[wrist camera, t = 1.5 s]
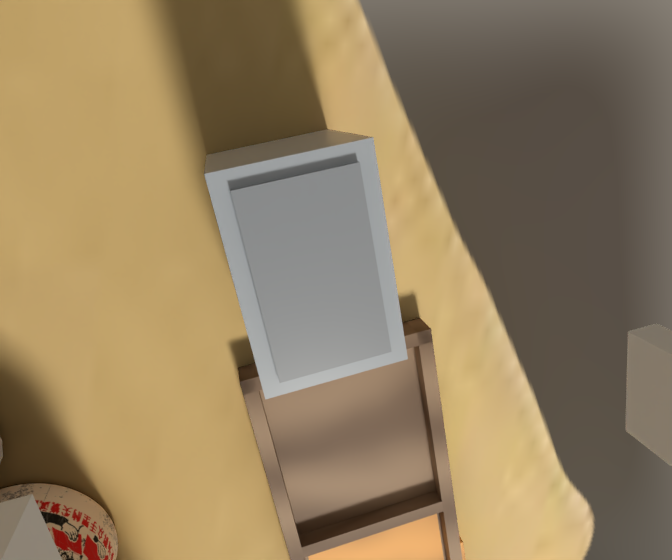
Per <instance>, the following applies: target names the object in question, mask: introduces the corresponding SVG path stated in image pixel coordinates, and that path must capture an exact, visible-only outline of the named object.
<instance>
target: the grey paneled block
mask: <svg viewBox="0 0 672 560" xmlns="http://www.w3.org/2000/svg"><path fill="white" fill-rule="evenodd" d="M204 175H205V179H206V183H207V186H208V190H209V194H210V197H211V201H212V205H213V208H214V212H215V216H216V219H217V223H218V227H219V231H220V234H221V238H222V242H223V245H224V249H225V253H226V256H227V260H228V264H229V267H230V271H231V275H232V278H233V282H234V286H235V289H236V293H237V297H238V301H239V304H240V308H241V312H242V315H243V319H244V323H245V326H246V330H247V334H248V337H249V341H250V345H251V348H252V352H253V356H254V359H255V363H256V367H257V371H258V374H259V378H260V382H261V385H262V389H263V393H264V396H265V400H266V399H269V398H273V397H276V396H280V395H283V394H287V393H290V392H294V391H297V390H301V389H304V388H308V387H311V386H315V385H318V384H322V383H325V382H329V381H332V380H336V379H339V378H343V377H347V376H350V375H354V374H357V373H361V372H364V371H368V370H371V369H375V368H378V367H382V366H385V365H389V364H392V363H396V362H399V361H403V360H406V359H408V356H407V350H406V343H405V337H404V331H403V324H402V318H401V312H400V305H399V299H398V293H397V286H396V280H395V273H394V267H393V261H392V254H391V248H390V242H389V235H388V229H387V223H386V216H385V210H384V203H383V197H382V191H381V184H380V178H379V172H378V165H377V159H376V153H375V146H374V140H373V137H368V136H363V135H357V134H352V133H346V132H340V131H335V130H329V129H326V130H321V131H317V132H312V133H307V134H303V135H298V136H293V137H288V138H284V139H279V140H274V141H269V142H265V143H260V144H255V145H251V146H246V147H241V148H236V149H232V150H227V151H222V152H217V153H213V154H208V155H206V163H205V171H204Z"/></svg>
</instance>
